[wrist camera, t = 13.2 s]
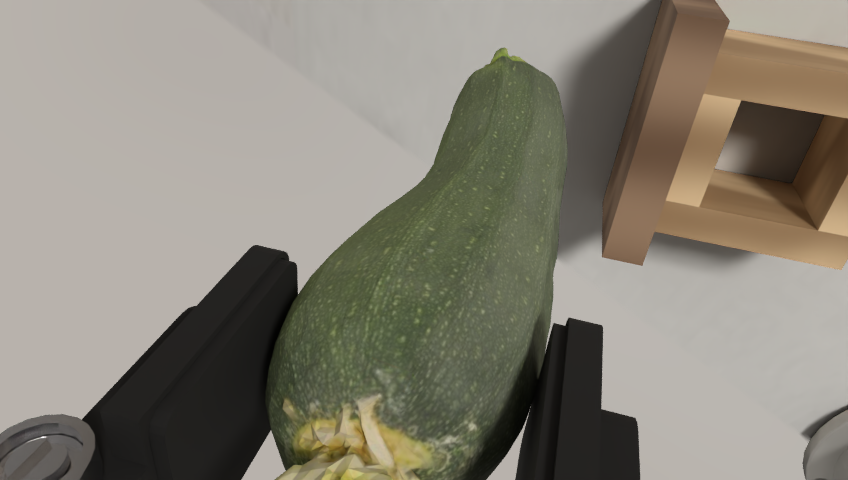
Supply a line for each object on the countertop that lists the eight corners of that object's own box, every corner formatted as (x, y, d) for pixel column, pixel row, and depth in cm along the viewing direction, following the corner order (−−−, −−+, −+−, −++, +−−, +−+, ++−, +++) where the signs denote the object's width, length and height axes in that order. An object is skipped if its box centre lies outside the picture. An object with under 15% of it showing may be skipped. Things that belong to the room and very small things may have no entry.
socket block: (813, 219, 34) (841, 269, 30) (645, 186, 35) (650, 230, 31) (897, 55, 29) (945, 89, 25) (698, 24, 30) (712, 52, 26)
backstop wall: (637, 209, 36) (642, 265, 31) (602, 202, 36) (602, 256, 32) (709, -8, 30) (729, 20, 25) (666, -14, 30) (677, 13, 25)
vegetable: (605, 104, 21) (582, 1016, 4) (514, 182, 23) (278, 972, 7) (512, 9, 20) (65, 696, 4) (427, 100, 22) (-79, 770, 6)
